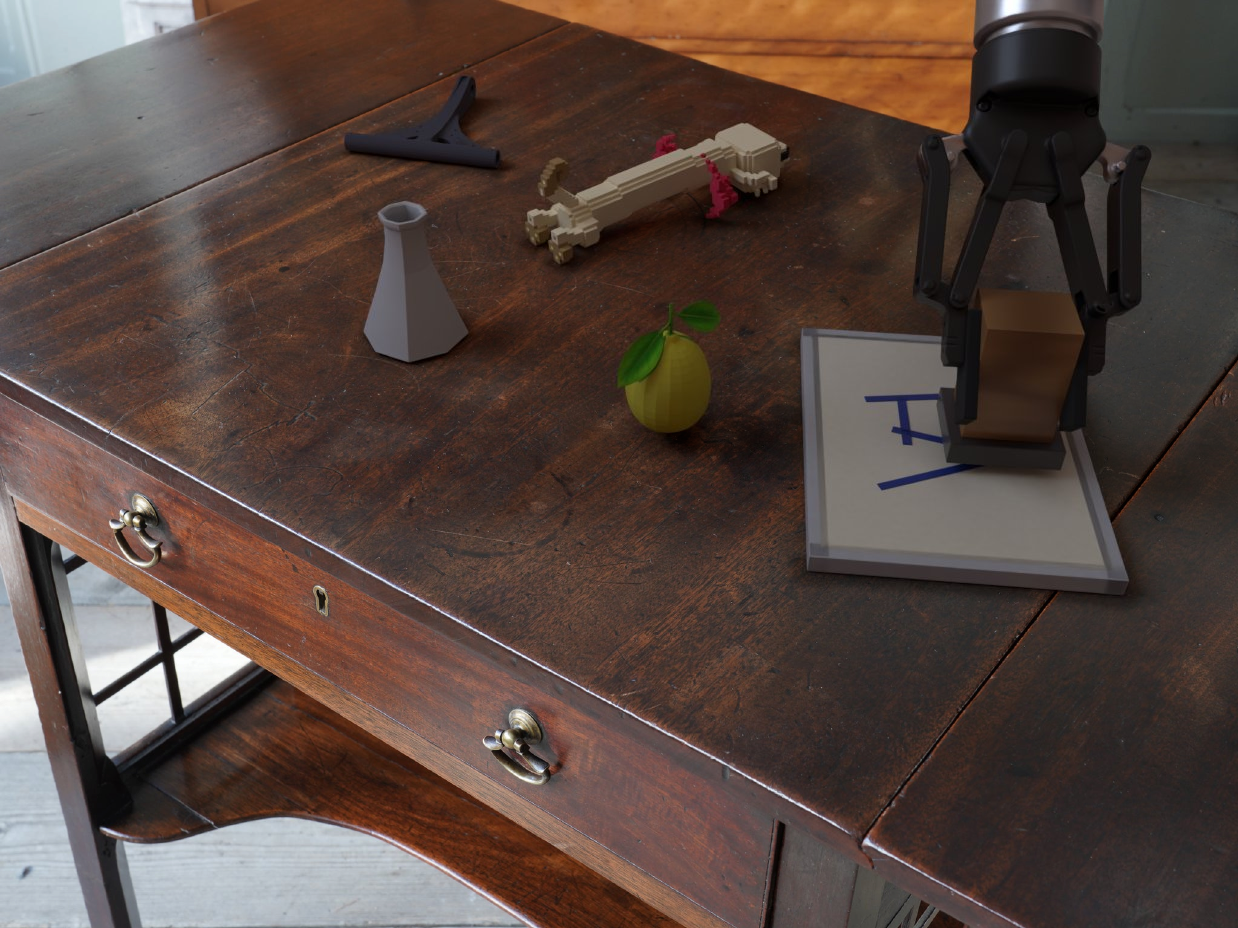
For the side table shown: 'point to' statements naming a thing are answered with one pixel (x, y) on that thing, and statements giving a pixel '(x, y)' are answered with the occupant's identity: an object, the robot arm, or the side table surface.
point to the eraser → (1017, 381)
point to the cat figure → (656, 185)
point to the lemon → (669, 372)
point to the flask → (410, 292)
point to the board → (934, 481)
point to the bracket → (433, 135)
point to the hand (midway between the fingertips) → (1018, 424)
